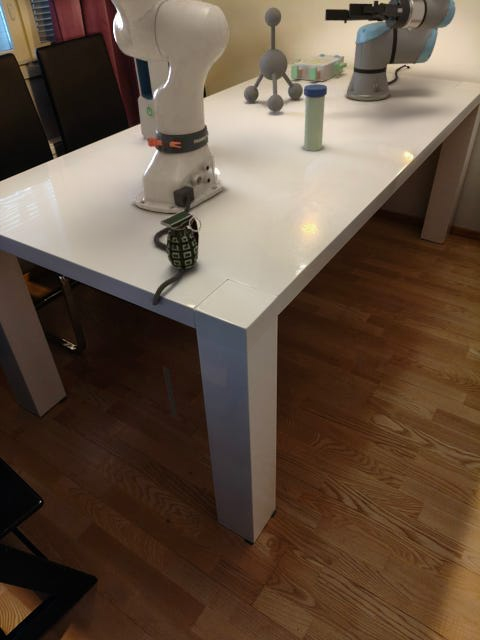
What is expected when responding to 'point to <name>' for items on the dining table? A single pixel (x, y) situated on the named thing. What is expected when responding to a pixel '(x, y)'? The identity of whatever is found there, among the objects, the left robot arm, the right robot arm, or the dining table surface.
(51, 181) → the dining table surface
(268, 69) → the molecular model
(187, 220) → the grenade
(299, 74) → the decorative block
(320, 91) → the lid
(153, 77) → the electronic device
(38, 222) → the dining table surface
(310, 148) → the jar
